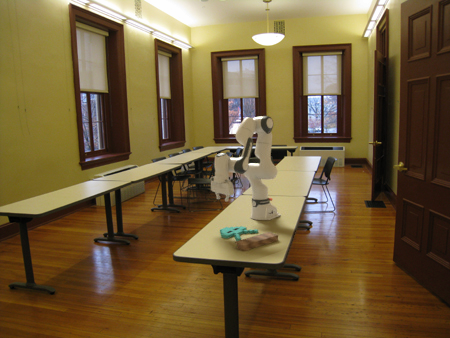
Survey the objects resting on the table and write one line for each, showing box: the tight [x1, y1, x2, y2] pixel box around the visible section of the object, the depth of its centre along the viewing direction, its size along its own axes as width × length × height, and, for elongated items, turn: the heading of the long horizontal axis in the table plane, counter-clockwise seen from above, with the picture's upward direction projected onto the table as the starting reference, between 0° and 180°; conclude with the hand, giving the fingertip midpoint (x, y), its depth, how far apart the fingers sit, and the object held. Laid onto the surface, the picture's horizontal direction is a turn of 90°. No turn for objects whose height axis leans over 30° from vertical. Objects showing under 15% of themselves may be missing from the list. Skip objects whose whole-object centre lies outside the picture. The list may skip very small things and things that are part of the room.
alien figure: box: [219, 226, 259, 242], centre depth 226 cm, size 20×2×20 cm
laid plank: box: [234, 231, 279, 252], centre depth 207 cm, size 26×8×3 cm, turn 127°
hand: (222, 200), depth 234 cm, fingers open, 8 cm apart
